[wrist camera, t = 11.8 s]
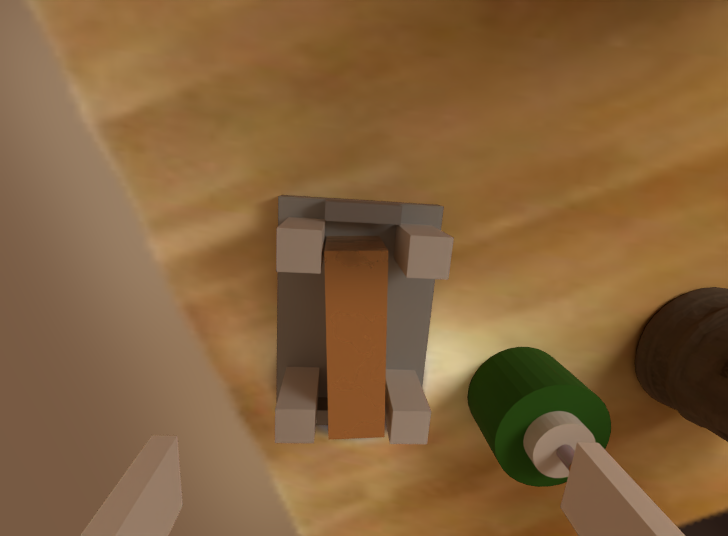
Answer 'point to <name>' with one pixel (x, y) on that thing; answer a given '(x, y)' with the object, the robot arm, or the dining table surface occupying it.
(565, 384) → the candle
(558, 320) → the dining table surface
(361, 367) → the block
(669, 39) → the dining table surface
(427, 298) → the jig
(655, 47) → the dining table surface
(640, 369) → the beer stein
